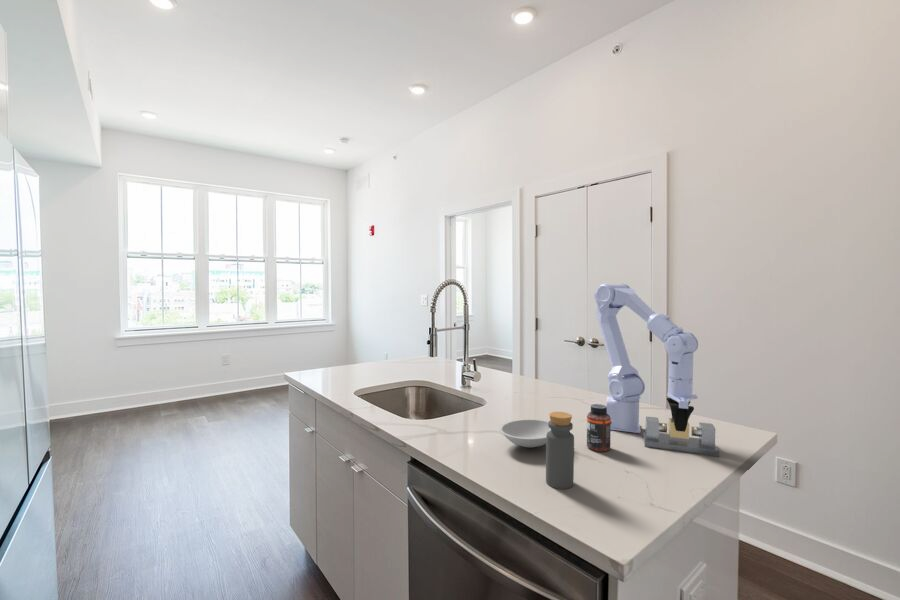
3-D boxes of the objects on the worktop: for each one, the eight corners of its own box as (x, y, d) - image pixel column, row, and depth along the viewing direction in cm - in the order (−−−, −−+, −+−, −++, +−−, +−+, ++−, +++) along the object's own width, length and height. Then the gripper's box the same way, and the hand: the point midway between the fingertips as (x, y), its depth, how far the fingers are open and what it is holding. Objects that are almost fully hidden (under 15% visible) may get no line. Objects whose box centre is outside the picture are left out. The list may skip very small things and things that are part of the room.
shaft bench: (644, 446, 112) (645, 422, 112) (643, 436, 120) (643, 414, 119) (718, 456, 106) (719, 431, 106) (712, 445, 113) (712, 421, 113)
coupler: (670, 436, 112) (670, 420, 111) (668, 432, 115) (668, 416, 115) (689, 439, 110) (689, 422, 110) (686, 434, 114) (687, 418, 114)
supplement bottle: (609, 445, 113) (610, 404, 112) (610, 454, 107) (611, 410, 107) (586, 442, 115) (587, 401, 114) (586, 450, 109) (587, 407, 109)
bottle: (542, 477, 94) (543, 410, 93) (567, 476, 94) (568, 410, 94) (550, 489, 88) (551, 419, 88) (577, 488, 89) (578, 418, 88)
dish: (533, 432, 123) (533, 415, 122) (573, 448, 111) (573, 429, 110) (486, 445, 113) (487, 426, 112) (524, 464, 101) (525, 443, 101)
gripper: (702, 385, 104) (701, 439, 104) (693, 373, 117) (691, 421, 118) (670, 382, 106) (669, 435, 107) (664, 371, 120) (663, 418, 120)
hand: (679, 428), depth 113 cm, fingers closed on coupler, 4 cm apart
